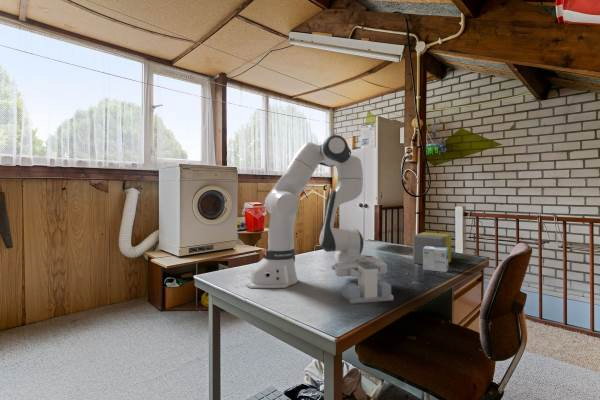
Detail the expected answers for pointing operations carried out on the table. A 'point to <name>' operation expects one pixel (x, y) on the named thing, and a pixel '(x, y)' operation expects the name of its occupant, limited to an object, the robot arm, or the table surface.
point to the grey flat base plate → (368, 298)
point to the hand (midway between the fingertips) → (368, 274)
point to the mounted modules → (354, 290)
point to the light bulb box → (435, 258)
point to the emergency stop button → (429, 244)
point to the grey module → (367, 279)
